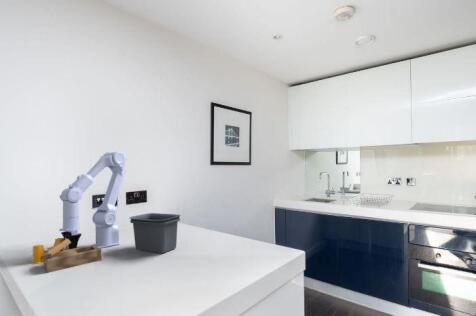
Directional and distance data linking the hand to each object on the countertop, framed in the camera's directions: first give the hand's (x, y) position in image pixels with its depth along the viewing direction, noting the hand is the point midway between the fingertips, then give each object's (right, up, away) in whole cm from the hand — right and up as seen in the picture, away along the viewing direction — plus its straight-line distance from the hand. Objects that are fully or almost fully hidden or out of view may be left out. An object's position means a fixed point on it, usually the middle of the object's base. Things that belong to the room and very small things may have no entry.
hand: (71, 249), depth 109 cm
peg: (0, -2, 0) cm, 2 cm away
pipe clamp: (-8, -3, -3) cm, 9 cm away
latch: (+4, +5, -13) cm, 14 cm away
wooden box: (+7, -1, -10) cm, 12 cm away
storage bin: (+34, -2, +6) cm, 35 cm away
